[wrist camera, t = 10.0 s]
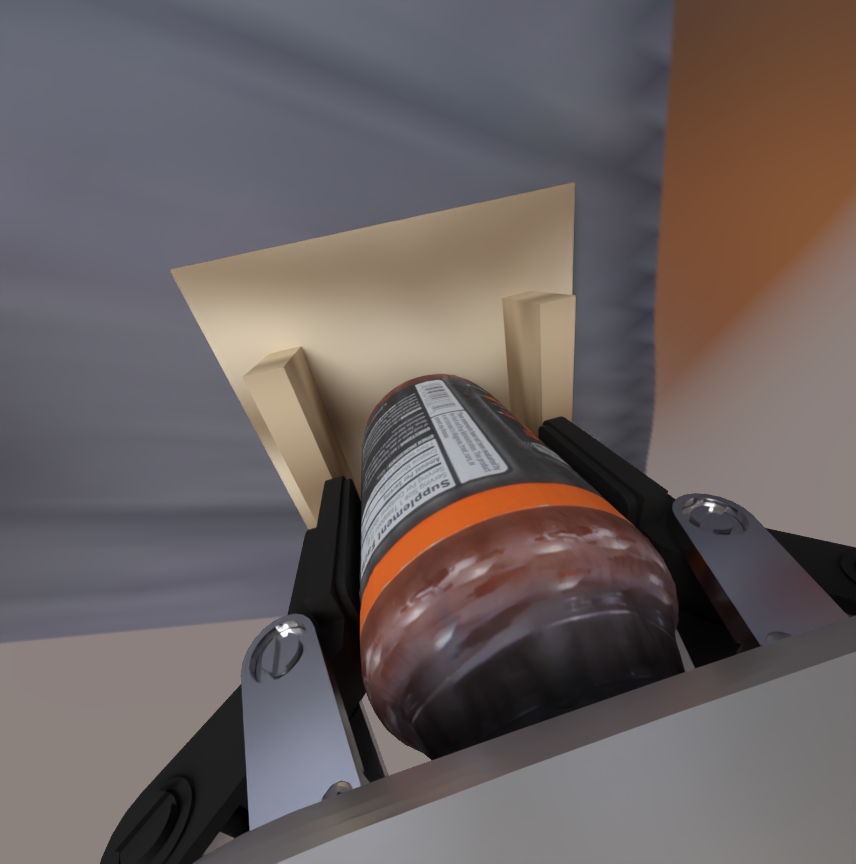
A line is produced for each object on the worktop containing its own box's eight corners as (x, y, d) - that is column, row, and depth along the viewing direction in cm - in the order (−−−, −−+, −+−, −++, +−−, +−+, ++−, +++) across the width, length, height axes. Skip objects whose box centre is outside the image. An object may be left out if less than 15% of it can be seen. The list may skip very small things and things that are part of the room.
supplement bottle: (521, 442, 14) (891, 833, 4) (418, 514, 15) (528, 989, 5) (451, 335, 11) (1046, 740, 2) (328, 430, 12) (182, 1120, 2)
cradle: (184, 270, 11) (100, 268, 7) (559, 188, 12) (641, 153, 8) (326, 544, 18) (316, 611, 14) (557, 477, 19) (602, 524, 15)
